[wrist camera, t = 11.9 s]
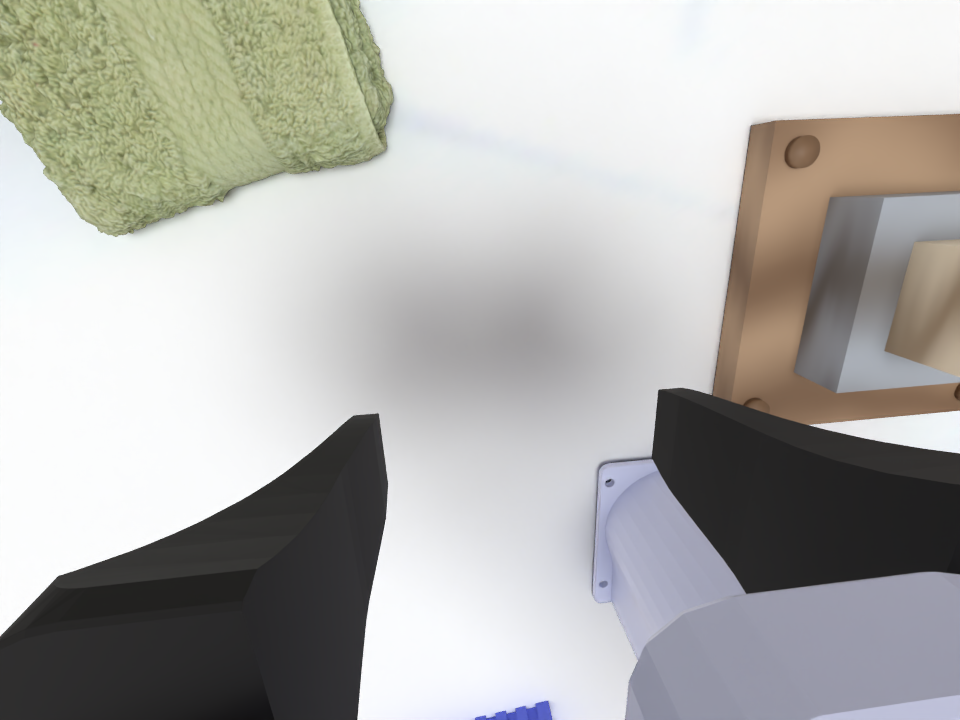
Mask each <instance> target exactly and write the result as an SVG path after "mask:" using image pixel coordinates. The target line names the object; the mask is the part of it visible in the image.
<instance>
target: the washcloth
mask: <svg viewBox="0 0 960 720" xmlns="http://www.w3.org/2000/svg"><path fill="white" fill-rule="evenodd" d="M359 4H360V1H359V0H0V100H1V101H3V103H2V104H1V105H0V110H1V113H2V114H3V116H4V117H6V118H7V119H8V120H9V121H10V122H12V123H14V124H15V127H16V129H17V130H18V131H19V132H20V133H22V136H23V139H24V141H25V143H26V144H27V145H29V146H30V147H32V148H33V150H34V151H35V153H36V154H37V156H38V157H39V159H40V160H41V162H42V163H43V164H44V165H45V166H46V167H45V169H44V170H43V174H44V175H45V176H46V177H47V178H48V179H49V180H51V181H53V182H54V183H55V184H56V185H57V186H58V189H59V190H60V191H61V193H62V195H64V196H65V197H66V199H67V201H69V202H70V203H71V204H72V206H73V207H74V208H75V210H76V212H77V213H78V215H79V216H80V218H81V219H83V220H85V221H86V222H88V223H90V224H92V225H94V226H96V227H97V228H98V231H100V232H101V233H103V232H104V233H106V234H107V235H113V236H115V237H117V236H118V235H125V234H127V233H128V232H129V233H132V234H133V233H134V231H133V229H136V230H138V229H141V228H145V227H146V224H149V223H152V222H157V221H159V219H161V218H165V219H167V218H172V217H174V215H175V213H179V214H180V213H182V212H185V211H187V208H190V207H193V206H209V205H213V203H214V201H215V200H219V201H220V202H223V201H224V196H225V195H226V193H227V192H228V191H229V190H230V189H232V188H234V187H236V186H243V185H247V184H250V183H252V182H253V181H259V180H262V179H264V178H267V177H269V176H270V175H275V174H278V173H281V172H287V173H291V174H297V173H302V172H305V173H306V172H309V171H313V170H316V171H319V170H320V166H322V167H324V168H334V167H335V166H337V165H355V164H358V163H360V162H363V161H369V160H371V159H372V158H373V157H374V156H377V154H380V153H382V152H384V151H385V150H386V147H387V143H386V135H385V131H384V126H385V125H386V118H387V116H388V114H389V112H390V105H391V104H392V102H393V92H392V88H391V85H390V84H389V83H388V82H387V81H386V79H385V78H384V76H383V75H384V71H383V69H382V68H381V66H380V63H381V60H380V58H379V52H380V48H379V47H378V46H376V45H375V43H374V42H373V37H372V35H371V33H370V28H369V26H368V25H367V24H366V19H365V18H364V17H363V15H362V13H361V11H360V9H359Z"/></svg>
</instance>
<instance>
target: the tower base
mask: <svg viewBox="0 0 960 720" xmlns="http://www.w3.org/2000/svg"><path fill="white" fill-rule="evenodd" d="M955 239H960V114H948V115H920V116H892V117H864V118H836V119H808V120H780V121H772V122H767V123H762V124H757V125H753V126H751V132H750V139H749V145H748V152H747V159H746V166H745V173H744V180H743V187H742V194H741V201H740V208H739V215H738V222H737V229H736V236H735V243H734V250H733V257H732V264H731V270H730V277H729V284H728V291H727V298H726V305H725V312H724V319H723V326H722V333H721V340H720V347H719V354H718V361H717V368H716V375H715V382H714V389H713V395H712V396H716V397H719V398H722V399H725V400H728V401H731V402H734V403H737V404H740V405H743V406H746V407H749V408H752V409H755V410H759V411H762V412H765V413H768V414H771V415H775V416H778V417H781V418H784V419H788V420H791V421H795V422H798V423H802V424H805V425H811V424H821V423H832V422H843V421H853V420H864V419H875V418H885V417H896V416H906V415H917V414H928V413H938V412H949V411H960V377H957V376H955V375H952V374H949V373H946V372H943V371H940V370H937V369H934V368H932V367H929V366H926V365H923V364H920V363H917V362H914V361H912V360H909V359H906V358H903V357H900V356H897V355H894V354H891V353H889V352H886V351H884V350H885V346H886V343H887V339H888V336H889V332H890V328H891V325H892V321H893V318H894V314H895V310H896V307H897V303H898V300H899V296H900V292H901V289H902V285H903V282H904V278H905V274H906V271H907V267H908V263H909V260H910V256H911V253H912V249H913V245H914V242H921V241H938V240H955Z"/></svg>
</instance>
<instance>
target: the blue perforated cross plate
mask: <svg viewBox="0 0 960 720" xmlns="http://www.w3.org/2000/svg"><path fill="white" fill-rule="evenodd" d="M515 709H516V712H513V713H508V714H506V711H502V712H498V713H495V714H496V717H491V718H487V719H486V716H481V717H476V718H475V720H552V716H551V711H550V707H549V703H548V701H544V702H540V703H536V707H534V708H530V709H526V706H523V707H519V708H515Z"/></svg>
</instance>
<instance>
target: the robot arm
mask: <svg viewBox="0 0 960 720" xmlns="http://www.w3.org/2000/svg"><path fill="white" fill-rule="evenodd" d="M608 479H612V480H611V481H610V482H608V483H605V482H606V481H607V480H608ZM387 492H388V480H387V473H386V465H385V458H384V450H383V443H382V435H381V428H380V420H379V414H367V415H356V416H353V417H351V418H350V419H349V420H347V421H346V422H345V423H344V424H343V425H342V426H341V427H339V428H338V429H337V430H336V431H335V432H334V433H333V434H332V435H330V436H329V437H328V438H327V439H326V440H325V441H324V442H322V443H321V444H320V445H319V446H318V447H317V448H315V449H314V450H313V451H312V452H311V453H309V454H308V455H307V456H305V457H304V458H303V459H302V460H300V461H299V462H298V463H296V464H295V465H294V466H293V467H291V468H290V469H289V470H287V471H286V472H285V473H283V474H282V475H281V476H279V477H278V478H276V479H275V480H273V481H272V482H270V483H269V484H267V485H266V486H264V487H262V488H261V489H259V490H258V491H256V492H254V493H253V494H251V495H250V496H248V497H246V498H244V499H243V500H241V501H239V502H237V503H235V504H233V505H231V506H230V507H228V508H226V509H224V510H222V511H220V512H218V513H216V514H214V515H212V516H211V517H209V518H207V519H205V520H203V521H201V522H199V523H197V524H194V525H192V526H190V527H188V528H186V529H183V530H181V531H179V532H177V533H175V534H172V535H170V536H167V537H165V538H163V539H160V540H158V541H155V542H153V543H151V544H148V545H146V546H143V547H141V548H138V549H135V550H133V551H130V552H127V553H125V554H122V555H119V556H116V557H113V558H110V559H107V560H105V561H102V562H99V563H96V564H93V565H90V566H87V567H85V568H82V569H79V570H76V571H73V572H70V573H67V574H64V575H61V576H58V577H57V578H56V579H55V580H54V581H53V582H52V583H51V584H50V585H49V586H48V587H47V588H46V590H45V591H44V592H43V593H42V594H41V595H40V596H39V597H38V598H37V599H36V600H35V601H34V602H33V603H32V604H31V605H30V606H29V607H28V608H27V609H26V610H25V611H24V612H23V613H22V614H21V616H20V617H19V618H18V619H17V620H16V621H15V622H14V623H13V624H12V625H11V626H10V627H9V628H8V629H7V630H6V631H5V632H4V633H3V634H2V635H1V636H0V720H357V716H358V704H359V693H360V681H361V669H362V658H363V648H364V638H365V627H366V618H367V612H368V605H369V599H370V594H371V590H372V585H373V580H374V575H375V570H376V565H377V560H378V555H379V550H380V545H381V540H382V535H383V530H384V525H385V520H386V508H387ZM601 581H603V582H601ZM592 594H593V597H594V600H595V601H596V602H598V603H606V602H612V603H613V606H614V608H615V610H616V612H617V615H618V617H619V619H620V621H621V624H622V626H623V628H624V630H625V633H626V635H627V637H628V639H629V642H630V644H631V646H632V648H633V651H634V653H635V655H636V657H637V660H638V662H637V664H636V667H635V669H634V671H633V673H632V675H631V678H630V680H629V686H628V696H627V706H626V716H625V720H960V454H959V453H951V452H943V451H936V450H928V449H922V448H916V447H909V446H903V445H897V444H891V443H885V442H880V441H875V440H869V439H864V438H860V437H855V436H851V435H846V434H842V433H837V432H833V431H828V430H824V429H820V428H817V427H813V426H809V425H805V424H802V423H798V422H795V421H791V420H788V419H784V418H781V417H778V416H775V415H771V414H768V413H765V412H762V411H759V410H755V409H752V408H749V407H746V406H743V405H740V404H737V403H734V402H731V401H728V400H725V399H722V398H719V397H716V396H712V395H709V394H706V393H702V392H699V391H695V390H690V389H685V388H674V389H662V390H658V400H657V410H656V421H655V431H654V441H653V451H652V459H648V460H638V461H628V462H618V463H608V464H605V465H603V466H602V467H601V468H600V470H599V480H598V499H597V517H596V536H595V554H594V573H593V592H592Z"/></svg>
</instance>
